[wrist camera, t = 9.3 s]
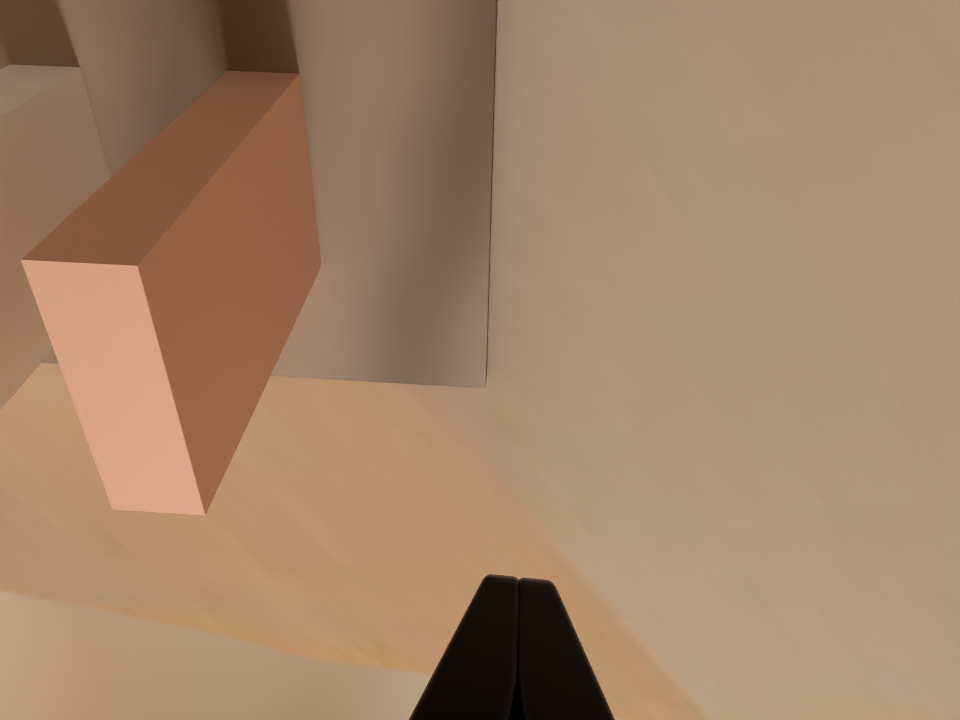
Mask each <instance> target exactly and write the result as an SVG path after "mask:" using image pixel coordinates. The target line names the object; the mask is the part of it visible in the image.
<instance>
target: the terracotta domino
mask: <svg viewBox="0 0 960 720" xmlns="http://www.w3.org/2000/svg"><path fill="white" fill-rule="evenodd" d="M21 262H22V265H23V268H24V270H25V273H26V276H27V278H28V281H29V284H30V287H31V289H32V292H33V295H34V297H35V300H36V303H37V306H38V308H39V311H40V314H41V316H42V319H43V322H44V325H45V327H46V330H47V333H48V335H49V338H50V341H51V344H52V346H53V349H54V352H55V354H56V357H57V360H58V363H59V365H60V368H61V371H62V373H63V376H64V379H65V382H66V384H67V387H68V390H69V392H70V395H71V398H72V400H73V403H74V406H75V409H76V411H77V414H78V417H79V419H80V422H81V425H82V428H83V430H84V433H85V436H86V438H87V441H88V444H89V447H90V449H91V452H92V455H93V457H94V460H95V463H96V466H97V468H98V471H99V474H100V476H101V479H102V482H103V485H104V487H105V490H106V493H107V495H108V498H109V501H110V504H111V506H112V509H117V510H132V511H148V512H163V513H178V514H193V515H206V512H207V510H208V508H209V506H210V504H211V502H212V500H213V498H214V495H215V493H216V491H217V489H218V487H219V485H220V483H221V480H222V478H223V476H224V474H225V472H226V470H227V468H228V465H229V463H230V461H231V459H232V457H233V455H234V453H235V450H236V448H237V446H238V444H239V442H240V440H241V438H242V435H243V433H244V431H245V429H246V427H247V425H248V423H249V420H250V418H251V416H252V414H253V412H254V410H255V408H256V405H257V403H258V401H259V399H260V397H261V395H262V393H263V390H264V388H265V386H266V384H267V382H268V380H269V378H270V375H271V373H272V371H273V369H274V367H275V365H276V363H277V360H278V358H279V356H280V354H281V352H282V350H283V348H284V345H285V343H286V341H287V339H288V337H289V335H290V333H291V330H292V328H293V326H294V324H295V322H296V320H297V318H298V315H299V313H300V311H301V309H302V307H303V305H304V303H305V300H306V298H307V296H308V294H309V292H310V290H311V288H312V285H313V283H314V281H315V279H316V277H317V275H318V273H319V270H320V268H321V266H322V264H321V256H320V247H319V238H318V230H317V221H316V212H315V204H314V195H313V186H312V178H311V169H310V160H309V152H308V143H307V134H306V125H305V117H304V108H303V99H302V91H301V82H300V74H298V73H272V72H247V71H227V72H226V73H225V74H224V75H222V76H221V77H220V78H219V79H218V80H217V81H216V82H215V83H214V84H213V85H211V86H210V87H209V88H208V89H207V90H206V91H205V92H204V93H203V94H202V95H201V96H199V97H198V98H197V99H196V100H195V101H194V102H193V103H192V104H191V105H190V106H189V107H187V108H186V109H185V110H184V111H183V112H182V113H181V114H180V115H179V116H178V117H176V118H175V119H174V120H173V121H172V122H171V123H170V124H169V125H168V126H167V127H166V128H164V129H163V130H162V131H161V132H160V133H159V134H158V135H157V136H156V137H155V138H153V139H152V140H151V141H150V142H149V143H148V144H147V145H146V146H145V147H144V148H143V149H141V150H140V151H139V152H138V153H137V154H136V155H135V156H134V157H133V158H132V159H131V160H129V161H128V162H127V163H126V164H125V165H124V166H123V167H122V168H121V169H120V170H118V171H117V172H116V173H115V174H114V175H113V176H112V177H111V178H110V179H109V180H108V181H106V182H105V183H104V184H103V185H102V186H101V187H100V188H99V189H98V190H97V191H95V192H94V193H93V194H92V195H91V196H90V197H89V198H88V199H87V200H86V201H85V202H83V203H82V204H81V205H80V206H79V207H78V208H77V209H76V210H75V211H74V212H73V213H71V214H70V215H69V216H68V217H67V218H66V219H65V220H64V221H63V222H62V223H60V224H59V225H58V226H57V227H56V228H55V229H54V230H53V231H52V232H51V233H50V234H48V235H47V236H46V237H45V238H44V239H43V240H42V241H41V242H40V243H39V244H37V245H36V246H35V247H34V248H33V249H32V250H31V251H30V252H29V253H28V254H27V255H25V256H24V257H23V258H22V259H21Z"/></svg>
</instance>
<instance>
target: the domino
mask: <svg viewBox="0 0 960 720" xmlns="http://www.w3.org/2000/svg"><path fill="white" fill-rule="evenodd" d="M109 179H110V175H109V172H108V168H107V164H106V161H105V157H104V154H103V150H102V146H101V143H100V139H99V135H98V132H97V128H96V124H95V121H94V117H93V113H92V110H91V106H90V102H89V99H88V95H87V91H86V88H85V84H84V80H83V77H82V73H81V69H80V67H62V66H37V65H12V64H10V65H8V66H6V67H4V68H2V69H0V409H1V408H2V407H3V406H4V405H5V404H6V403H7V401H8V400H9V399H10V398H11V397H12V396H13V394H14V393H15V392H16V391H17V390H18V389H19V388H20V386H21V385H22V384H23V383H24V382H25V381H26V379H27V378H28V377H29V376H30V375H31V374H32V373H33V371H34V370H35V369H36V368H37V367H38V366H39V365H40V363H41V362H42V361H43V360H44V359H45V358H46V356H47V355H48V354H49V353H50V352H51V351H52V350H53V346H52V344H51V341H50V338H49V335H48V333H47V330H46V327H45V325H44V322H43V319H42V316H41V314H40V311H39V308H38V306H37V303H36V300H35V297H34V295H33V292H32V289H31V287H30V284H29V281H28V278H27V276H26V273H25V270H24V268H23V265H22V262H21V259H22V258H23V257H24V256H25V255H27V254H28V253H29V252H30V251H31V250H32V249H33V248H34V247H35V246H36V245H37V244H39V243H40V242H41V241H42V240H43V239H44V238H45V237H46V236H47V235H48V234H50V233H51V232H52V231H53V230H54V229H55V228H56V227H57V226H58V225H59V224H60V223H62V222H63V221H64V220H65V219H66V218H67V217H68V216H69V215H70V214H71V213H73V212H74V211H75V210H76V209H77V208H78V207H79V206H80V205H81V204H82V203H83V202H85V201H86V200H87V199H88V198H89V197H90V196H91V195H92V194H93V193H94V192H95V191H97V190H98V189H99V188H100V187H101V186H102V185H103V184H104V183H105V182H106V181H108V180H109Z"/></svg>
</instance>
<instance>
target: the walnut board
mask: <svg viewBox="0 0 960 720" xmlns="http://www.w3.org/2000/svg"><path fill="white" fill-rule="evenodd" d="M496 22H497V0H0V69H2V68H4V67H6V66H8V65H10V64H12V65H37V66H62V67H80V69H81V73H82V77H83V80H84V84H85V88H86V91H87V95H88V99H89V102H90V106H91V110H92V113H93V117H94V121H95V124H96V128H97V132H98V135H99V139H100V143H101V146H102V150H103V154H104V157H105V161H106V164H107V168H108V172H109V175H110V178H111V177H112V176H113V175H114V174H115V173H116V172H117V171H118V170H120V169H121V168H122V167H123V166H124V165H125V164H126V163H127V162H128V161H129V160H131V159H132V158H133V157H134V156H135V155H136V154H137V153H138V152H139V151H140V150H141V149H143V148H144V147H145V146H146V145H147V144H148V143H149V142H150V141H151V140H152V139H153V138H155V137H156V136H157V135H158V134H159V133H160V132H161V131H162V130H163V129H164V128H166V127H167V126H168V125H169V124H170V123H171V122H172V121H173V120H174V119H175V118H176V117H178V116H179V115H180V114H181V113H182V112H183V111H184V110H185V109H186V108H187V107H189V106H190V105H191V104H192V103H193V102H194V101H195V100H196V99H197V98H198V97H199V96H201V95H202V94H203V93H204V92H205V91H206V90H207V89H208V88H209V87H210V86H211V85H213V84H214V83H215V82H216V81H217V80H218V79H219V78H220V77H221V76H222V75H224V74H225V73H226V72H227V71H247V72H272V73H298V74H300V82H301V91H302V99H303V108H304V117H305V125H306V134H307V143H308V152H309V160H310V169H311V178H312V186H313V195H314V204H315V212H316V221H317V230H318V238H319V247H320V256H321V264H322V266H321V268H320V270H319V273H318V275H317V277H316V279H315V281H314V283H313V285H312V288H311V290H310V292H309V294H308V296H307V298H306V300H305V303H304V305H303V307H302V309H301V311H300V313H299V315H298V318H297V320H296V322H295V324H294V326H293V328H292V330H291V333H290V335H289V337H288V339H287V341H286V343H285V345H284V348H283V350H282V352H281V354H280V356H279V358H278V360H277V363H276V365H275V367H274V369H273V371H272V373H271V375H270V376H282V377H299V378H317V379H334V380H351V381H369V382H386V383H403V384H421V385H438V386H455V387H473V388H486V378H487V345H488V309H489V273H490V237H491V201H492V165H493V129H494V94H495V58H496ZM41 363H57V364H59V363H58V360H57V357H56V354H55V352H54V349H53V350H52V351H51V352H50V353H49V354H48V355H47V356H46V358H45V359H44V360H43V361H42V362H41Z"/></svg>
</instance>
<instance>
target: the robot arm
mask: <svg viewBox="0 0 960 720" xmlns="http://www.w3.org/2000/svg"><path fill="white" fill-rule="evenodd" d="M409 720H615V719H614V717H613V715H612V712H611V710H610V708H609V706H608V703H607V701H606V699H605V697H604V694H603V692H602V690H601V687H600V685H599V683H598V681H597V678H596V676H595V674H594V672H593V669H592V667H591V665H590V663H589V660H588V658H587V656H586V654H585V651H584V649H583V647H582V645H581V642H580V640H579V638H578V636H577V633H576V631H575V629H574V627H573V624H572V622H571V620H570V618H569V615H568V613H567V611H566V609H565V606H564V604H563V602H562V600H561V597H560V595H559V593H558V591H557V589H556V587H555V585H554V584H553V583H552V582H551V581H549V580H542V579H532V578H521V579H517V578H516V577H513V576H503V575H493V574H489V575H487V576H486V577H485V578H484V579H483V580H482V582H481V584H480V586H479V588H478V590H477V591H476V593H475V595H474V597H473V599H472V601H471V603H470V605H469V607H468V609H467V610H466V612H465V614H464V616H463V618H462V620H461V622H460V624H459V626H458V627H457V629H456V631H455V633H454V635H453V637H452V639H451V641H450V643H449V645H448V646H447V648H446V650H445V652H444V654H443V656H442V658H441V660H440V662H439V664H438V665H437V667H436V669H435V671H434V673H433V675H432V677H431V679H430V681H429V683H428V684H427V686H426V688H425V690H424V692H423V694H422V696H421V698H420V700H419V702H418V704H417V705H416V707H415V709H414V711H413V713H412V715H411V717H410V719H409Z"/></svg>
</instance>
